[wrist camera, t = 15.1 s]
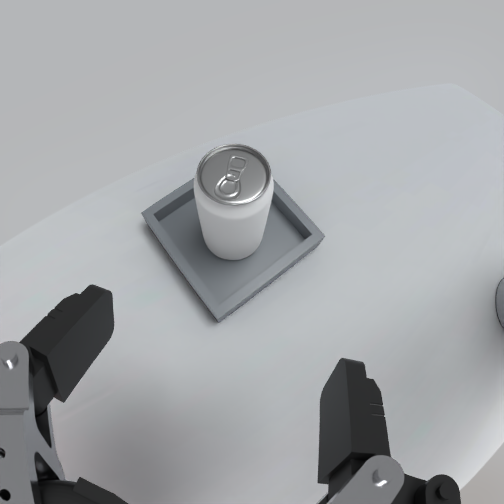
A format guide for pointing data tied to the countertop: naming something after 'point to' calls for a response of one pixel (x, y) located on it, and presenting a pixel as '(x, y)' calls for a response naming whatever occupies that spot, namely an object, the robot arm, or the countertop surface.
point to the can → (233, 199)
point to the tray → (222, 270)
